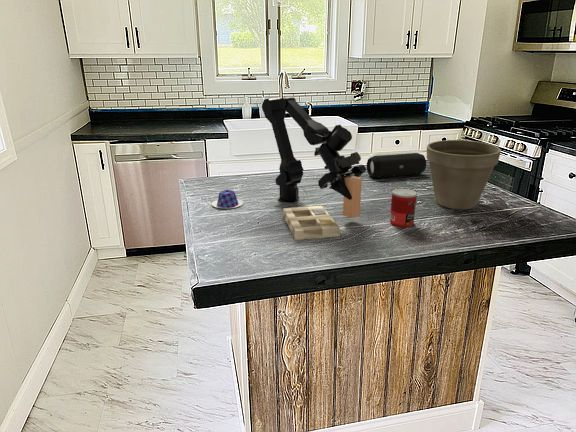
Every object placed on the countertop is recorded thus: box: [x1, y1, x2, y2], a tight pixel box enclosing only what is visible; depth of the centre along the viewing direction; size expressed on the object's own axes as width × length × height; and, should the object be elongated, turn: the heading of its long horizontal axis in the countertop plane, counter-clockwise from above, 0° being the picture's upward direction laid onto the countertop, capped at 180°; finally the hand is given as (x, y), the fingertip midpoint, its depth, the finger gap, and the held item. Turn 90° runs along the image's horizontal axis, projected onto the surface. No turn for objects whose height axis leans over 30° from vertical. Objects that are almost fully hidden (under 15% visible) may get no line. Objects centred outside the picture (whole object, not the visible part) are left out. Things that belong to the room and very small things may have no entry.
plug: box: [342, 176, 363, 219], centre depth 148 cm, size 4×4×13 cm
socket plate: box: [282, 205, 341, 241], centre depth 147 cm, size 20×14×3 cm
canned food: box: [389, 188, 418, 228], centre depth 148 cm, size 8×8×11 cm
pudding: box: [211, 189, 245, 210], centre depth 168 cm, size 12×12×5 cm
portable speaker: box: [366, 152, 427, 179], centre depth 202 cm, size 26×10×10 cm, turn 104°
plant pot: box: [426, 139, 502, 210], centre depth 164 cm, size 25×25×22 cm
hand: (355, 197), depth 147 cm, fingers closed on plug, 4 cm apart
